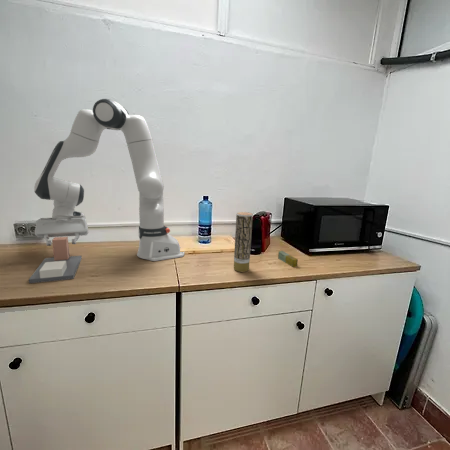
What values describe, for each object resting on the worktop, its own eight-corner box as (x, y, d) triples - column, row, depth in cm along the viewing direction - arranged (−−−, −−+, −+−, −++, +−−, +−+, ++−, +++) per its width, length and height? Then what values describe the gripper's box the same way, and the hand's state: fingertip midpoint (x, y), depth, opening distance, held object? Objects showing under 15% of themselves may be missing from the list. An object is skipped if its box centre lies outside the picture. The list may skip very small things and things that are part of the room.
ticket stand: (81, 258, 120) (80, 248, 119) (73, 278, 100) (72, 267, 99) (45, 261, 115) (44, 251, 114) (29, 283, 95) (27, 271, 94)
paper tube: (248, 273, 112) (252, 215, 106) (232, 271, 113) (235, 214, 108) (249, 267, 119) (253, 212, 113) (234, 265, 120) (237, 211, 114)
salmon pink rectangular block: (69, 256, 117) (67, 236, 115) (67, 259, 114) (65, 239, 111) (56, 257, 115) (54, 237, 113) (54, 260, 112) (52, 240, 110)
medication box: (277, 258, 132) (278, 251, 131) (282, 258, 133) (282, 250, 132) (292, 267, 121) (293, 259, 120) (297, 267, 122) (298, 258, 121)
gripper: (34, 214, 114) (30, 242, 108) (87, 212, 121) (86, 239, 115) (38, 222, 119) (35, 249, 113) (89, 220, 127) (88, 245, 120)
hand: (61, 244), depth 114 cm, fingers open, 8 cm apart
